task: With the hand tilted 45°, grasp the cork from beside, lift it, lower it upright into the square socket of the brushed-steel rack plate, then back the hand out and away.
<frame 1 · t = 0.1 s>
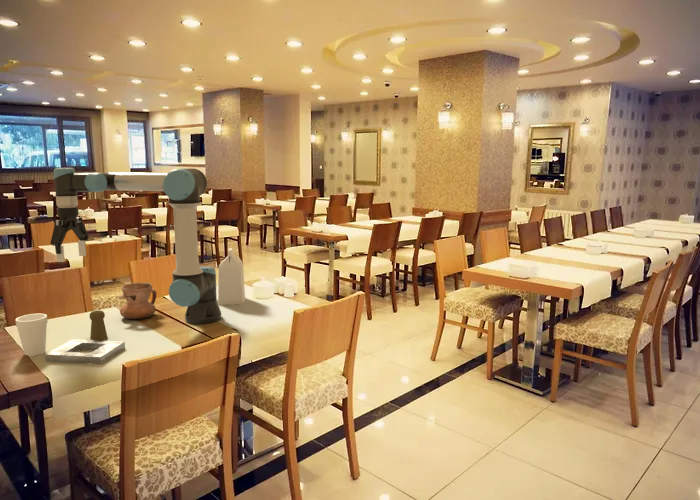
hand: (72, 258, 204), 28 cm above the table, tool pointing down, fingers open, 13 cm apart
milk: (232, 301, 246), on the table
beverage cup: (201, 297, 253), on the table
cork: (99, 339, 192), on the table
rack plate: (86, 354, 176), on the table
ceramic jug: (139, 316, 220), on the table
foam cup: (35, 353, 178), on the table
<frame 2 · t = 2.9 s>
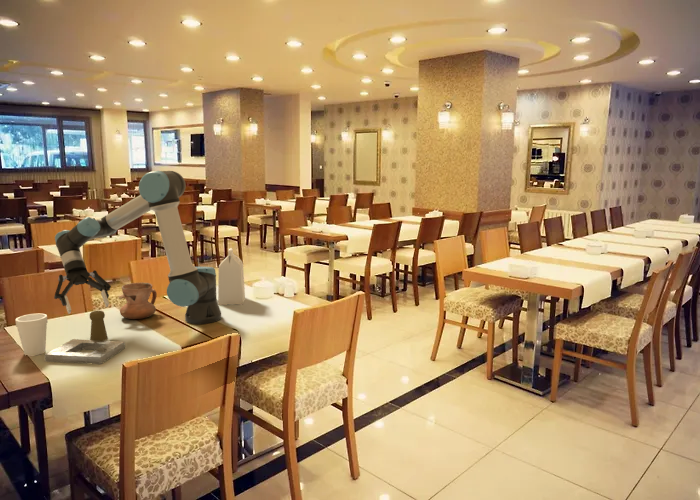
hand: (89, 308, 194), 11 cm above the table, tool tilted 45°, fingers open, 13 cm apart
nothing on the table moved.
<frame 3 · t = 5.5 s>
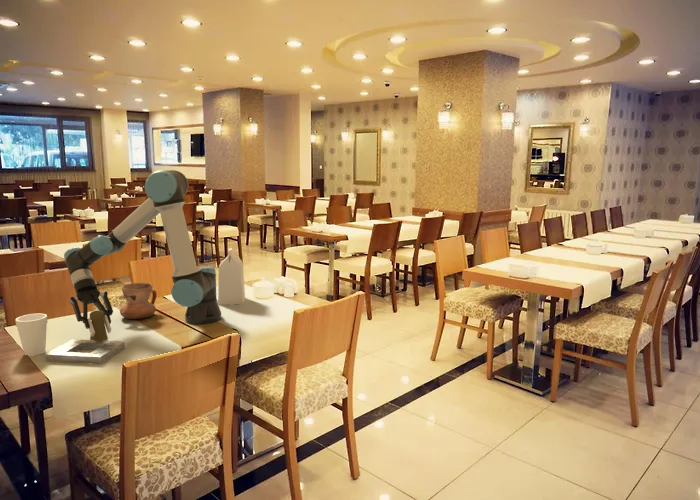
hand: (101, 332, 189), 3 cm above the table, tool tilted 45°, fingers closed on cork, 5 cm apart
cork: (99, 339, 192), on the table, touching gripper
everything else where it was.
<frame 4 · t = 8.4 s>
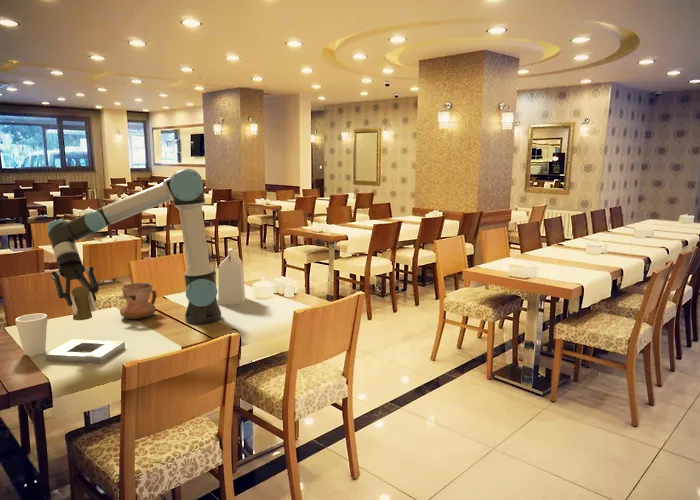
hand: (85, 310, 172), 16 cm above the table, tool tilted 45°, fingers closed on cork, 5 cm apart
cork: (82, 318, 176), point 13 cm above the table, touching gripper
everything else where it was.
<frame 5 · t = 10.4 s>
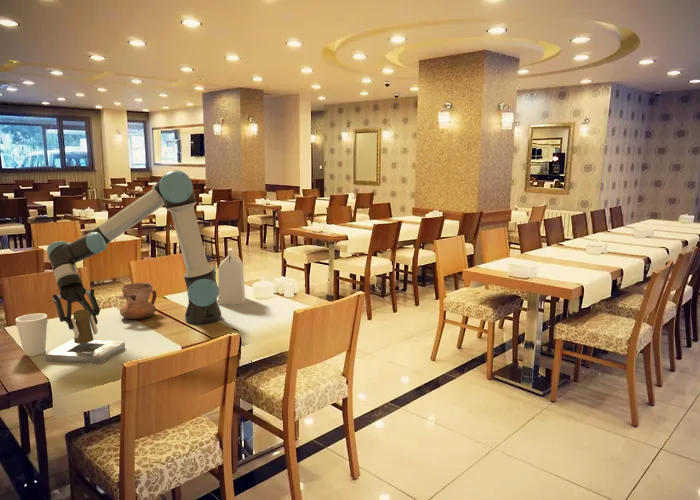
hand: (86, 334, 172), 8 cm above the table, tool tilted 45°, fingers closed on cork, 5 cm apart
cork: (83, 341, 175), point 5 cm above the table, touching gripper
everything else where it was.
when the fingers open (5 cm above the table, at t = 11.6 s): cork drops 2 cm, resting in rack plate.
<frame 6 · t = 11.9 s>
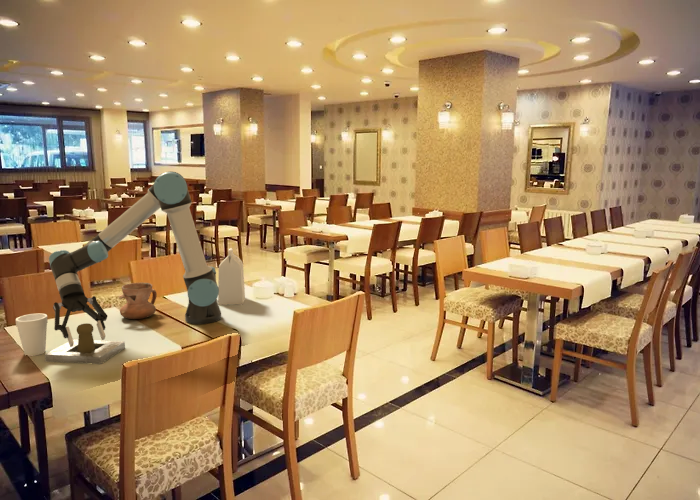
hand: (88, 341, 173), 6 cm above the table, tool tilted 45°, fingers open, 9 cm apart
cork: (87, 354, 176), resting in rack plate
everything else where it was.
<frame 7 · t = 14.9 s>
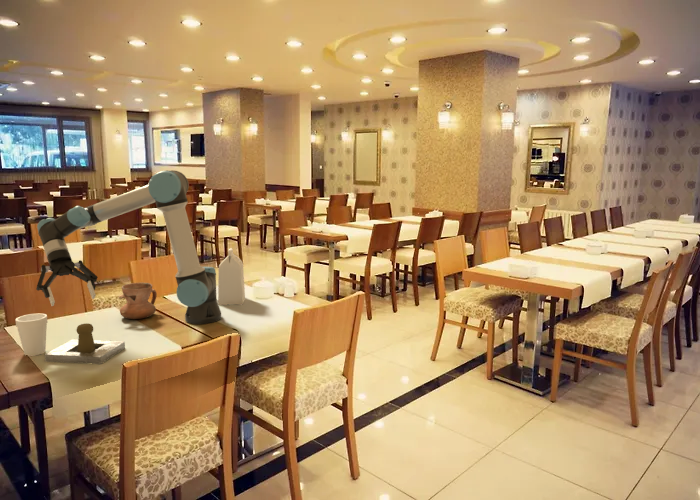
hand: (74, 300, 182), 17 cm above the table, tool tilted 45°, fingers open, 13 cm apart
nothing on the table moved.
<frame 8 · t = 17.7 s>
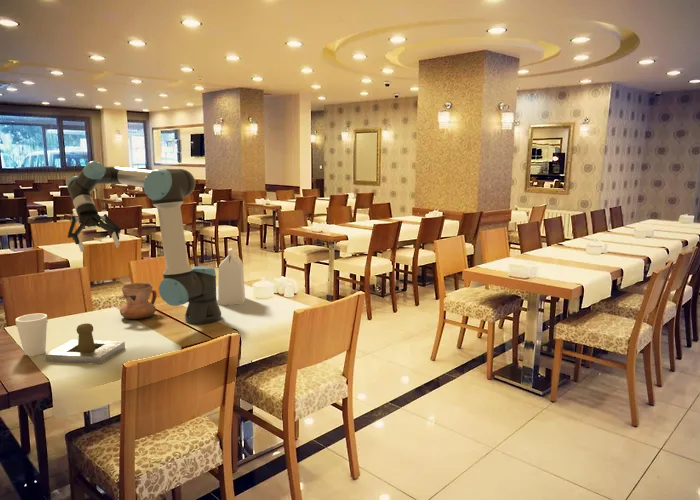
hand: (100, 247, 202), 33 cm above the table, tool tilted 45°, fingers open, 13 cm apart
nothing on the table moved.
at the end: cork 0.2 cm off-centre on the rack plate, point 0.0 cm above the rack plate's base; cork tilted 0°; the gripper is holding nothing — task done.
